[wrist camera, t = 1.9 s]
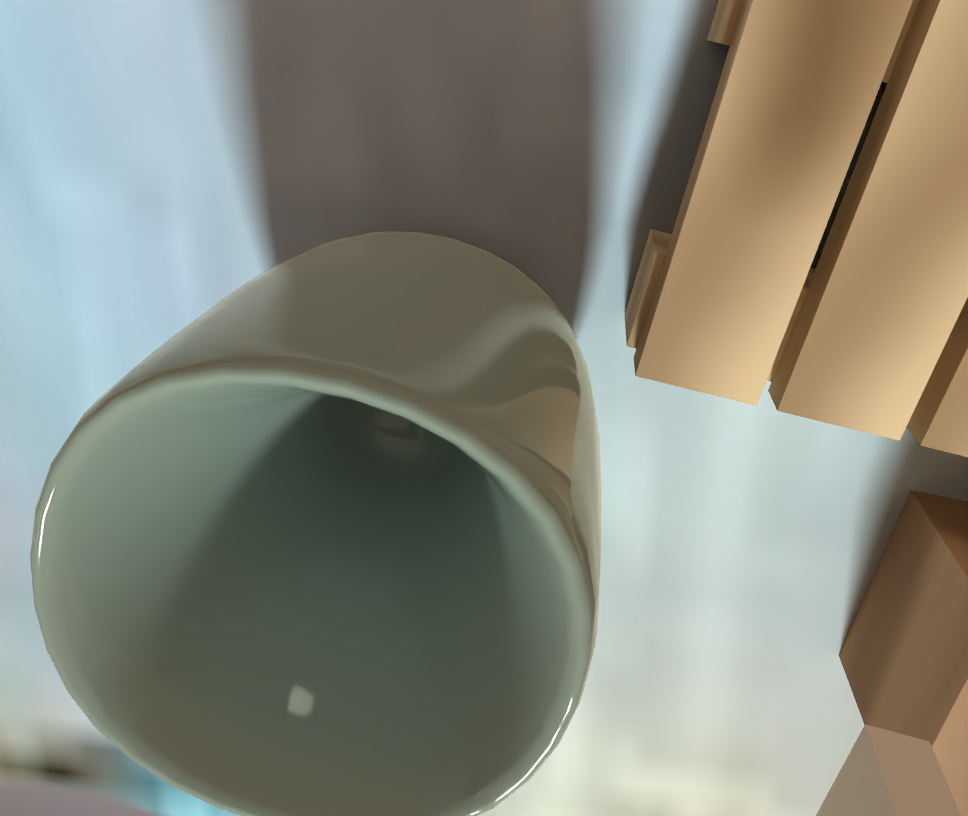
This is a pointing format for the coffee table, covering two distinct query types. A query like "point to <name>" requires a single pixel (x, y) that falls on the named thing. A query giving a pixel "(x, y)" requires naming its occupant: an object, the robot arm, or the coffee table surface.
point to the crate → (918, 635)
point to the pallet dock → (824, 222)
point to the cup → (336, 538)
